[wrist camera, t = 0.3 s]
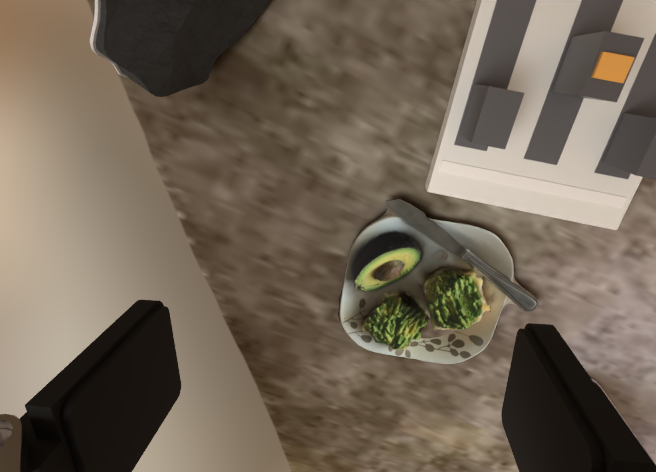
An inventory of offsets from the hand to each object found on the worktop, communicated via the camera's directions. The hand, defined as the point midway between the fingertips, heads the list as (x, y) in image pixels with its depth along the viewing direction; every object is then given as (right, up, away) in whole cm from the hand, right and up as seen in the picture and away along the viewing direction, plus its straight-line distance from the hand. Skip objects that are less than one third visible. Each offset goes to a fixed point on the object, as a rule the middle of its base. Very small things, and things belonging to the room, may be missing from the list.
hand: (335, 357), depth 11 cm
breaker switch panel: (+19, +17, +23) cm, 35 cm away
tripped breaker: (+19, +16, +21) cm, 33 cm away
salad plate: (+9, -2, +32) cm, 34 cm away
